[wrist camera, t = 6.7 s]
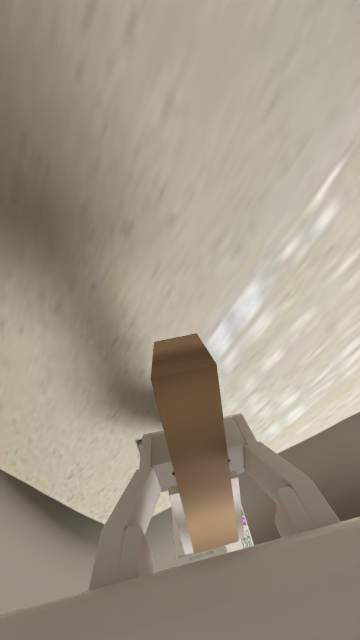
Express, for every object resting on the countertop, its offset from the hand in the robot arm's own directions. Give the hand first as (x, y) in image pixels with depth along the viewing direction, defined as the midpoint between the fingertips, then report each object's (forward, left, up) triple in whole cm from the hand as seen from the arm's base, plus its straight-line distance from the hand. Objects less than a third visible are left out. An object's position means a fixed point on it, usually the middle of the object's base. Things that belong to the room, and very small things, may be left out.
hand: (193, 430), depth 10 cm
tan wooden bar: (0, +5, -1) cm, 5 cm away
